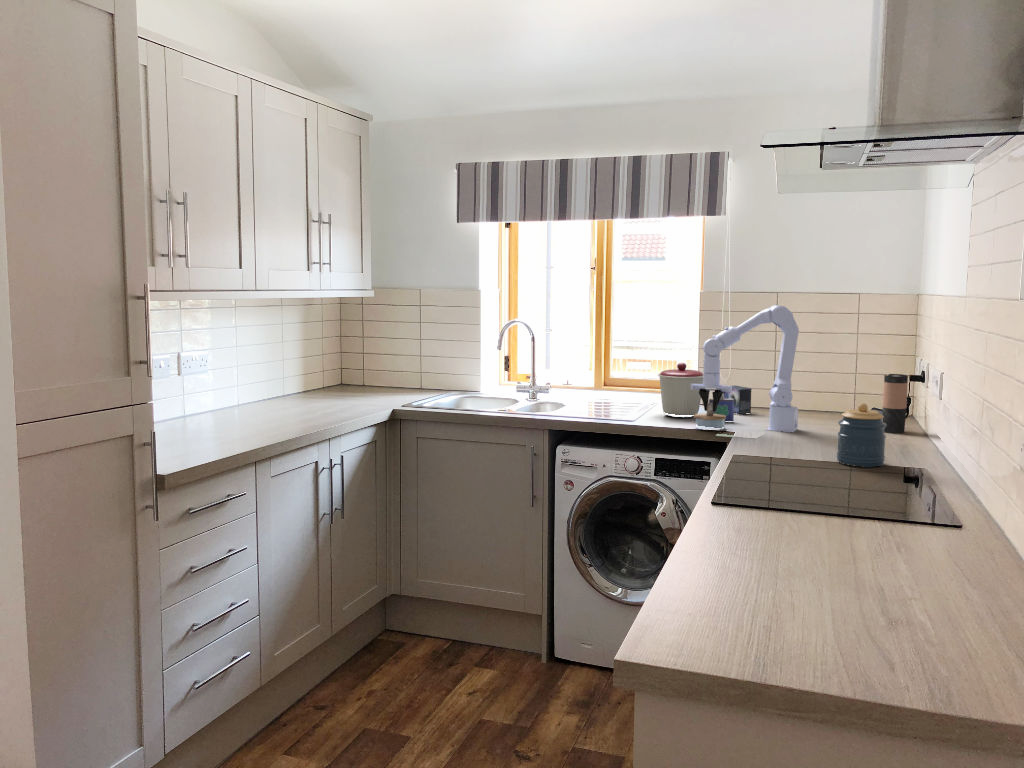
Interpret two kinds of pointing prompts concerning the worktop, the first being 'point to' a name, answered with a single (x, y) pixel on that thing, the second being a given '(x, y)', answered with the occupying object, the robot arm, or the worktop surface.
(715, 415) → the lid
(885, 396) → the travel mug
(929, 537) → the worktop surface
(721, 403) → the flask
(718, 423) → the bowl
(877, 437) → the canister
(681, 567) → the worktop surface
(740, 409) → the small box
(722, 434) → the mat
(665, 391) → the canister
